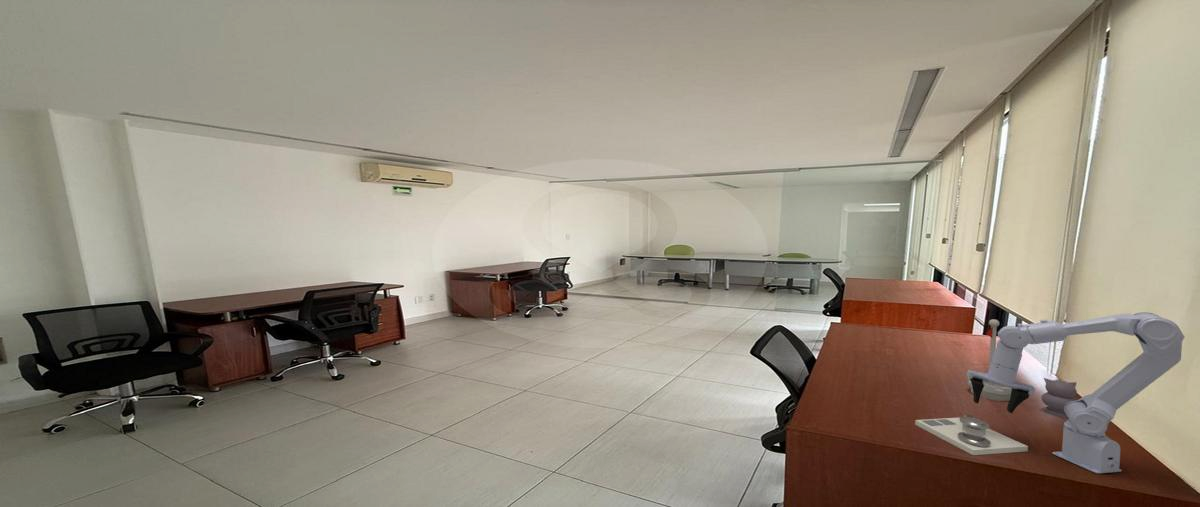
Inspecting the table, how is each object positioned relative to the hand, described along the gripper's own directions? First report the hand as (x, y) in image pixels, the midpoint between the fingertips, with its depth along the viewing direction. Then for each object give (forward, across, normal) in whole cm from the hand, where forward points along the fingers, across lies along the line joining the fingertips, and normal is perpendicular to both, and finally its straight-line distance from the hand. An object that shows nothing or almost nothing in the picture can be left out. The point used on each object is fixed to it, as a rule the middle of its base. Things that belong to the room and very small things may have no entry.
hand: (992, 406), depth 120 cm
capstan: (+9, +4, +4) cm, 11 cm away
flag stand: (+10, -12, -44) cm, 47 cm away
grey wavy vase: (+7, -27, -35) cm, 45 cm away
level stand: (+11, +4, +3) cm, 12 cm away
